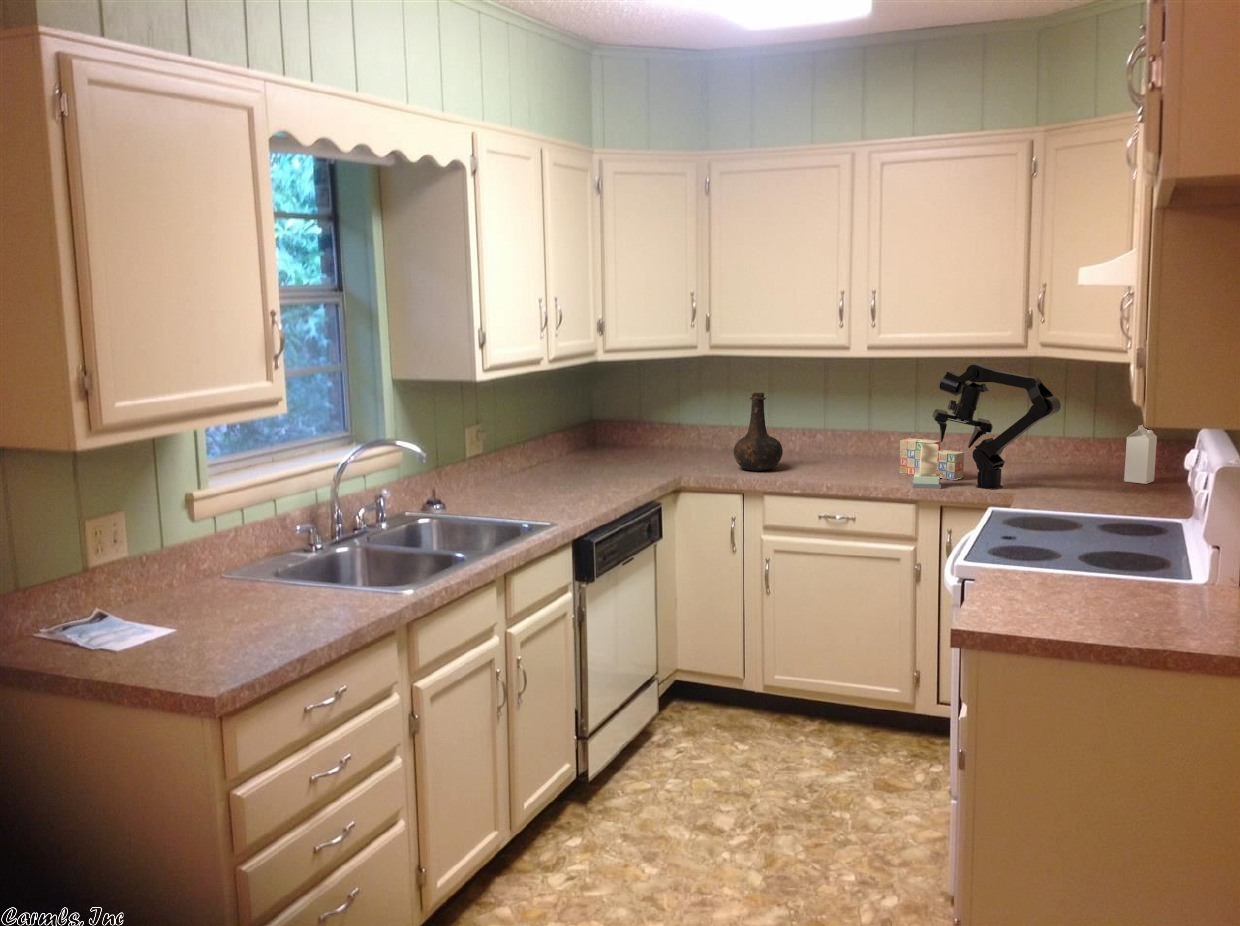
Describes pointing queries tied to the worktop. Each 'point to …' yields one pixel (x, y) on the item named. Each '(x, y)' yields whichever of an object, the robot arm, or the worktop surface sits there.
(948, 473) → the stack of blocks
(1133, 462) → the milk carton
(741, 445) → the glass bottle
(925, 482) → the tower top
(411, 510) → the worktop surface
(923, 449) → the tall block
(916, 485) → the tower base
